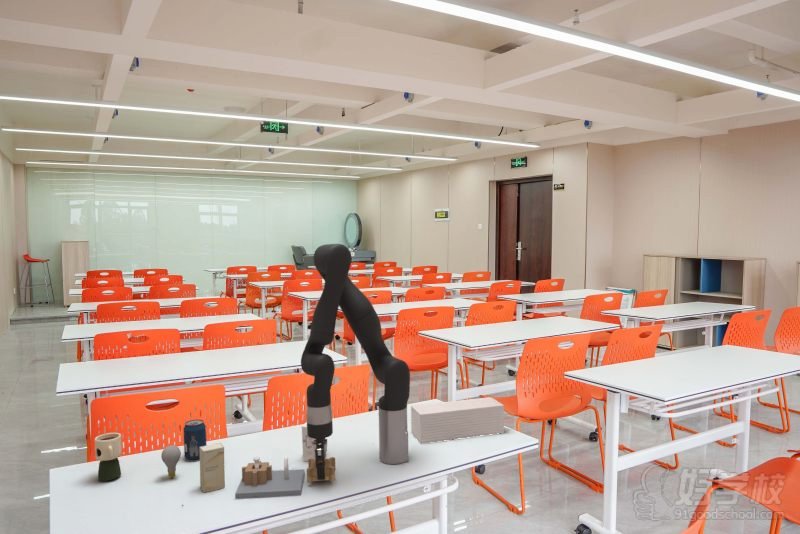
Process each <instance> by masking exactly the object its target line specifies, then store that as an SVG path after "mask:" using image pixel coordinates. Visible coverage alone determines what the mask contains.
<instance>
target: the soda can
mask: <svg viewBox="0 0 800 534" xmlns="http://www.w3.org/2000/svg"><path fill="white" fill-rule="evenodd" d="M202 446H207V426H206V424H205V421H204V420H203V419H191V420H188V421H186V422H185V423H184V427H183V453H184V455H183V456H184V458H185V459H186V460H187V461H188V460H189V461H188V462H197V461H196V460H198V461H200V450H199V447H202Z"/></svg>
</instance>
